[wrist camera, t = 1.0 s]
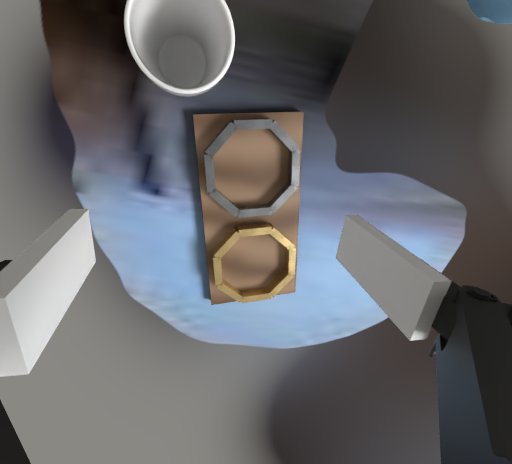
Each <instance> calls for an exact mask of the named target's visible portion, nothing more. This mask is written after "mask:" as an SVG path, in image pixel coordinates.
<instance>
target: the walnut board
mask: <svg viewBox="0 0 512 464" xmlns="http://www.w3.org/2000/svg"><path fill="white" fill-rule="evenodd" d="M303 113H304V112H267V113H224V114H193V121H194V131H195V142H196V152H197V162H198V172H199V183H200V193H201V203H202V213H203V224H204V234H205V244H206V255H207V265H208V275H209V285H210V296H211V304H212V305H214V304H220V303H227V302H234V301H236V300H235V299H233V298H232V297H230V296H229V295H227V294H226V293H224V292H223V291H221V290H219V289H218V288H217V287H216V286H215V280H214V268H213V257H212V253H213V250H214V249H215V248H216V247H217V245H218V244H219V243H220V242H221V241H222V240H223V239H224V238H225V237H226V236H227V235H228V234H229V232H230V231H231V230H232V229H233V228H234V227H235V228H236V229H237V226H241V225H251V224H261V223H269V224H272V225H273V226H275V227H276V228H277V229H278V230H279V231H280V232H282V233H283V234H284V235H285V236H286V237H287V238H288V239H290V240H291V241H292V242H293V244H294V245H295V247H296V262H295V275H293V276H294V277H293V278H292V279H291V280H290V281H289V282H288V283H287V284H286V285H285V286H284V287H283V288H282V289H281V290H280V291H279V292H278V293H277V294H276V295H280V294H286V293H293V292H295V286H296V265H297V243H298V221H299V200H300V178H301V157H302V135H303ZM238 119H272V120H275V121H276V122H277V123H278V124H279V125H280V126H281V128H282V129H283V130H284V131H285V132H286V133H287V134H288V135H289V136H290V137H291V138H292V140H293V141H294V142H295V143H296V144H297V145H298V146H299V150H301V151H300V173H299V186H296V187H297V188H298V189H297V190H296V191H295V192H294V193H293V194H292V195H291V196H290V197H289V198H288V199H287V200H286V201H285V202H284V203H283V205H282V206H281V207H280V208H279V209H278V210H277V211H276V212H275V213H273V212H272V215H262V216H252V217H241V218H238V216H236V217H235V216H234V215H232V214H231V213H230V212H229V211H228V210H226V209H225V208H224V207H223V206H221V205H220V204H219V203H218V202H217V201H215V200H214V199H213V198H212V197H210V196H209V194H208V193H207V189H206V177H205V166H204V155H203V153H206V152H205V151H204V150H205V149H206V148H207V146H208V145H209V144H210V143H211V142H212V140H213V139H214V138H215V137H216V136H217V135H218V133H219V132H220V131H221V130H222V129H223V128H224V126H225V125H226V124H227V123H228V122H229V121H231V122H232V120H238ZM288 153H289V151H288V150H287V148H286V147H285V146H284V145H283V144H282V143H281V142H280V141H279V140H278V139H277V138H276V137H275V136H274V135H273V134H272V133H271V131H270V130H269V129H244V130H236V131H235V132H234V133H233V134H232V135H231V136H230V138H229V139H228V140H227V141H226V142H225V143H224V145H223V146H222V147H221V148H220V149H219V150H218V151H217V153H216V154H215V155H214V156H213V161H214V174H215V188H216V189H218V190H219V191H220V192H221V193H222V194H223V195H225V196H226V197H227V198H228V199H229V200H231V201H232V202H233V203H234V204H235V205H237V206H248V205H260V204H267V203H268V202H269V201H270V200H271V199H272V198H273V197H274V196H275V195H276V194H277V193H278V192H279V190H280V189H281V188H282V187H283V186H284V185H285V184H286V183H287V182H288ZM285 259H286V247H285V246H284V245H283V244H281V243H280V242H279V241H278V240H277V239H275V238H274V237H273V236H272V235H271V234H265V235H255V236H246V237H240V238H239V239H238V241H237V242H236V243H235V244H234V245H233V246H232V247H231V248H230V249H229V250H228V251H227V252H226V253H225V254H224V256H223V257H222V258H221V268H222V278H223V279H224V280H226V281H227V282H229V283H230V284H232V285H233V286H235V287H236V288H237V289H239V290H240V291H246V290H253V289H260V288H267V287H268V286H269V285H270V284H271V283H272V282H273V281H274V280H275V279H276V278H277V277H278V276H279V275H280V274H281V273H282V272H283V271H284V270H285Z"/></svg>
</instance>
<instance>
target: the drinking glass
mask: <svg viewBox="0 0 512 464" xmlns="http://www.w3.org/2000/svg"><path fill="white" fill-rule="evenodd" d="M124 29H125V36H126V40H127V43H128V47H129V49H130V52H131V54H132V56H133V58H134V60H135V61H136V63H137V64H138V66H139V67H140V69H141V70H142V71H143V73H144V74H145V75H146V76H147V77H148V78H149V79H150V80H151V81H152V82H153V83H154V84H155V85H156V86H158V87H159V88H161V89H162V90H164V91H166V92H168V93H170V94H173V95H177V96H182V97H193V96H198V95H201V94H203V93H205V92H207V91H209V90H210V89H212V88H213V87H214V86H215V85H217V84H218V82H219V81H220V80H221V79H222V77H223V76H224V75H225V73H226V71H227V70H228V68H229V66H230V63H231V60H232V57H233V53H234V47H235V32H234V25H233V20H232V17H231V14H230V11H229V8H228V6H227V4H226V2H225V0H127V2H126V6H125V12H124Z"/></svg>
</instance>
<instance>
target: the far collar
mask: <svg viewBox="0 0 512 464" xmlns="http://www.w3.org/2000/svg"><path fill="white" fill-rule="evenodd" d="M265 234H271V235H272V236H273V237H274V238H275V239H277V240H278V241H279V242H280V243H281V244H283V245H284V246H285V247H286V259H285V270H284V271H283V272H282V273H281V274H280V275H279V276H278V277H277V278H276V279H275V280H274V281H273V282H272V283H271V284H270V285H269V286H268V287H267V288H260V289H253V290H246V291H240V290H239V289H237V288H236V287H235V286H233V285H232V284H230V283H229V282H227V281H226V280H224V279H223V278H222V268H221V258H222V257H223V256H224V254H225V253H226V252H227V251H228V250H229V249H230V248H231V247H232V246H233V245H234V244H235V243H236V242H237V241H238V239H239V238H240V237H246V236H255V235H265ZM212 257H213V268H214V280H215V286H216V287H217V288H218V289H219V290H221V291H223V292H224V293H226V294H227V295H229V296H230V297H232V298H233V299H235V300H236V301H238V302H239V303H240V302H242V303H246V302H252V301H259V300H265V299H271V296H272V297H274V296H275V295H276V294H277V293H278V292H279V291H280V290H281V289H282V288H283V287H284V286H285V285H286V284H287V283H288V282H289V281H290V280H291V279H292V278H293V277H294V276H293V275H295V262H296V247H295V245H294V244H293V242H292V241H291V240H290V239H288V238H287V237H286V236H285V235H284V234H283V233H282V232H280V231H279V230H278V229H277V228H276V227H275V226H273V225H272V224H269V223H261V224H251V225H241V226H237V229H236V228H235V227H234V228H233V229H232V230H231V231H230V232H229V234H228V235H227V236H226V237H225V238H224V239H223V240H222V241H221V242H220V243H219V244H218V245H217V247H216V248H215V249H214V250H213V253H212Z"/></svg>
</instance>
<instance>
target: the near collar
mask: <svg viewBox="0 0 512 464" xmlns="http://www.w3.org/2000/svg"><path fill="white" fill-rule="evenodd" d="M244 129H269V130H270V131H271V133H272V134H273V135H274V136H275V137H276V138H277V139H278V140H279V141H280V142H281V143H282V144H283V145H284V146H285V147H286V148H287V150H288V151H289V153H288V182H287V183H286V184H285V185H284V186H283V187H282V188H281V189H280V190H279V192H278V193H277V194H276V195H275V196H274V197H273V198H272V199H271V200H270V201H269V202H268V203H267V204H260V205H248V206H237V205H235V204H234V203H233V202H232V201H231V200H229V199H228V198H227V197H226V196H225V195H223V194H222V193H221V192H220V191H219V190H218V189H216V188H215V174H214V161H213V156H214V155H215V154H216V153H217V151H218V150H219V149H220V148H221V147H222V146H223V145H224V143H225V142H226V141H227V140H228V139H229V138H230V136H231V135H232V134H233V133H234V132H235V131H236V130H244ZM204 151H205V152H206V153H203V155H204V166H205V177H206V189H207V193H208V194H209V196H210V197H212V198H213V199H214V200H215V201H217V202H218V203H219V204H220V205H221V206H223V207H224V208H225V209H226V210H228V211H229V212H230V213H231V214H232V215H234V216H235V217H236V216H238V218H241V217H252V216H262V215H272V212H273V213H275V212H276V211H277V210H278V209H279V208H280V207H281V206H282V205H283V203H284V202H285V201H286V200H287V199H288V198H289V197H290V196H291V195H292V194H293V193H294V192H295V191H296V190H297V189H298V188H297V187H296V186H299V173H300V151H301V150H299V146H298V145H297V144H296V143H295V142H294V141H293V140H292V138H291V137H290V136H289V135H288V134H287V133H286V132H285V131H284V130H283V129H282V128H281V126H280V125H279V124H278V123H277V122H276V121H275V120H272V119H238V120H232V122H231V121H229V122H228V123H227V124H226V125H225V126H224V128H223V129H222V130H221V131H220V132H219V133H218V135H217V136H216V137H215V138H214V139H213V140H212V142H211V143H210V144H209V145H208V146H207V148H206V149H205V150H204Z"/></svg>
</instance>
